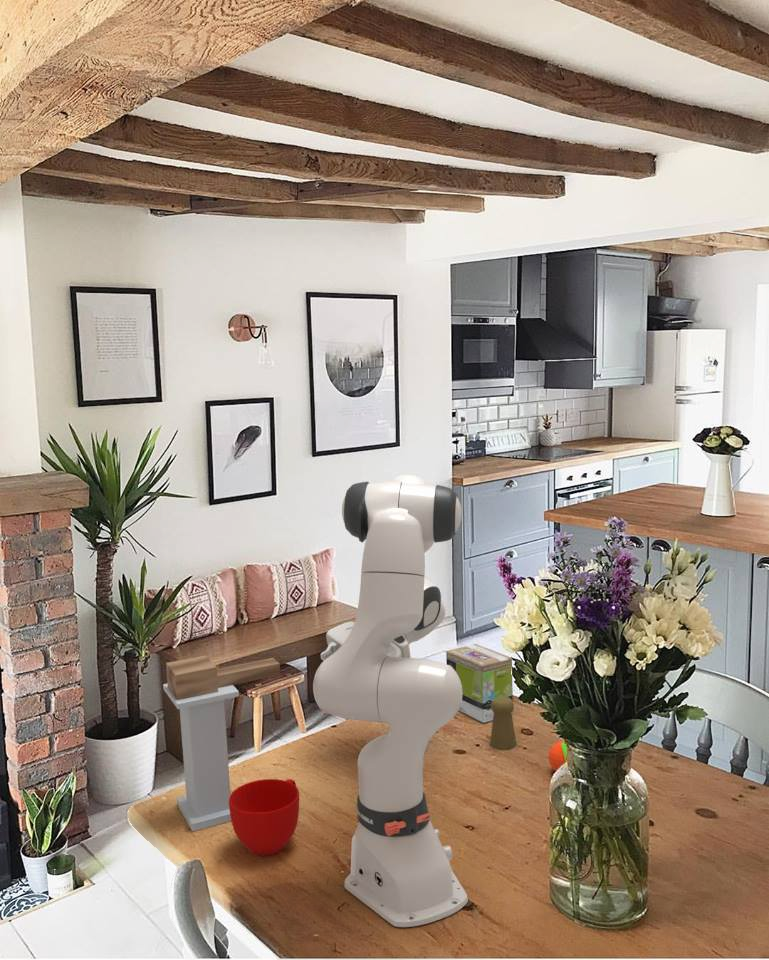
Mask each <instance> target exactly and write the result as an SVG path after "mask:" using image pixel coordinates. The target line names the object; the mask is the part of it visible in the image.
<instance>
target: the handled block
mask: <svg viewBox="0 0 769 960" xmlns="http://www.w3.org/2000/svg"><path fill="white" fill-rule="evenodd" d="M280 665H281V663H280V662H278V661H277V660H276V659H275V658H274V657H270V658H266V659H260V660H255V661H249V662H244V663H239V664H234V665H231V666H230V665H229V666H226V667H225V666H224V667H220V668H217V666H216V665H215V664H214V663H213V662H212V660H211V659H210V658H209V657H208V656H207V655H202V656H201V655H200V656H197V657H196V656H195V657H190V658H186V659H185V658H184V659H180V660H173V661H169V662H166V663H165V667H166V668H165V669H166V681H167V682H166V684H168V688H169V689H170V691H171V692H172V693H173V695H174V696H175V698H176V699H177V700H181V699H186V698H191V697H196V696H200V695H205V694H210V693H215V692H218V688H221V687H225V686H230V685H233V686H235V685H239V684H244V683H249V682H255V681H260V680H264V679H268V678H273V677H278V676H281V666H280Z"/></svg>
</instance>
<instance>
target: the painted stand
mask: <svg viewBox="0 0 769 960" xmlns="http://www.w3.org/2000/svg"><path fill="white" fill-rule="evenodd" d="M162 687H163V691H164V692H165V693H166V695H167V697H168V698H169V699H170V701H171V702H172V703H173V705H174V706H175V708H176V709H177V710H179V716H180V717H179V720H180V730H181V731H180V732H181V744H182V757H183V758H182V759H183V771H184V772H183V773H184V783H185V795H183V796H180V797H176V802H177V806H178V809H179V810H180V812H181V814H182V816H183V817H184V819H185V821H186V823H187V824H188V826H189V828H190V830H191V831H192V832H195V831H200V830H203V829H206V828H210V827H214V826H217V825H221V824H225V823H229V822H232V821H231V816H230V809H229V797H230V795H231V794H232V793H231V784H230V783H231V781H230V768H229V767H230V766H229V755H228V753H229V752H228V738H227V724H226V723H227V722H226V711H225V700H228V699H233V698H238V697H240V691H239V690H238V689H237V688H236V687H235V685H230V686H225V687H221V688H218V692H215V693H210V694H205V695H200V696H196V697H191V698H186V699H181V700H177V699H176V698H175V696H174V695H173V693H172V692H171V691H170V689H169V688H168V683H164V684H162Z"/></svg>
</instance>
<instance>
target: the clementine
mask: <svg viewBox="0 0 769 960" xmlns="http://www.w3.org/2000/svg"><path fill="white" fill-rule="evenodd" d="M563 741H564V740H559V741H557V742H556V743H554V744H553V746H552V747H550V750H549V752H548V760H549V764H550V767H551V768H552V769H553V770H554V771H555V772H556V770H557V769H558V768H559V767H560V766H561V765H562V764H564V763H565V762H566V760H567V747H566V744H565V743H564V742H563Z"/></svg>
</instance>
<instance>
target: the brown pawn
mask: <svg viewBox="0 0 769 960" xmlns="http://www.w3.org/2000/svg"><path fill="white" fill-rule="evenodd" d="M491 709H492V711H493V712H494V714H493V720H492V723H491V725H492V726H491V733H490V742H489V743H490V747H491V748H493V749H496V750H500V751H508V750H513V749H515V748H516V747H517V738H516V733H515V727H514V726H515V725H514V720H513V713H512V712H514V709H515V705H514V700H513V701H512V700H511V699H510V698H508V697H502V696H501V697H496V698H494V699H493V700H492V702H491Z"/></svg>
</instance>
